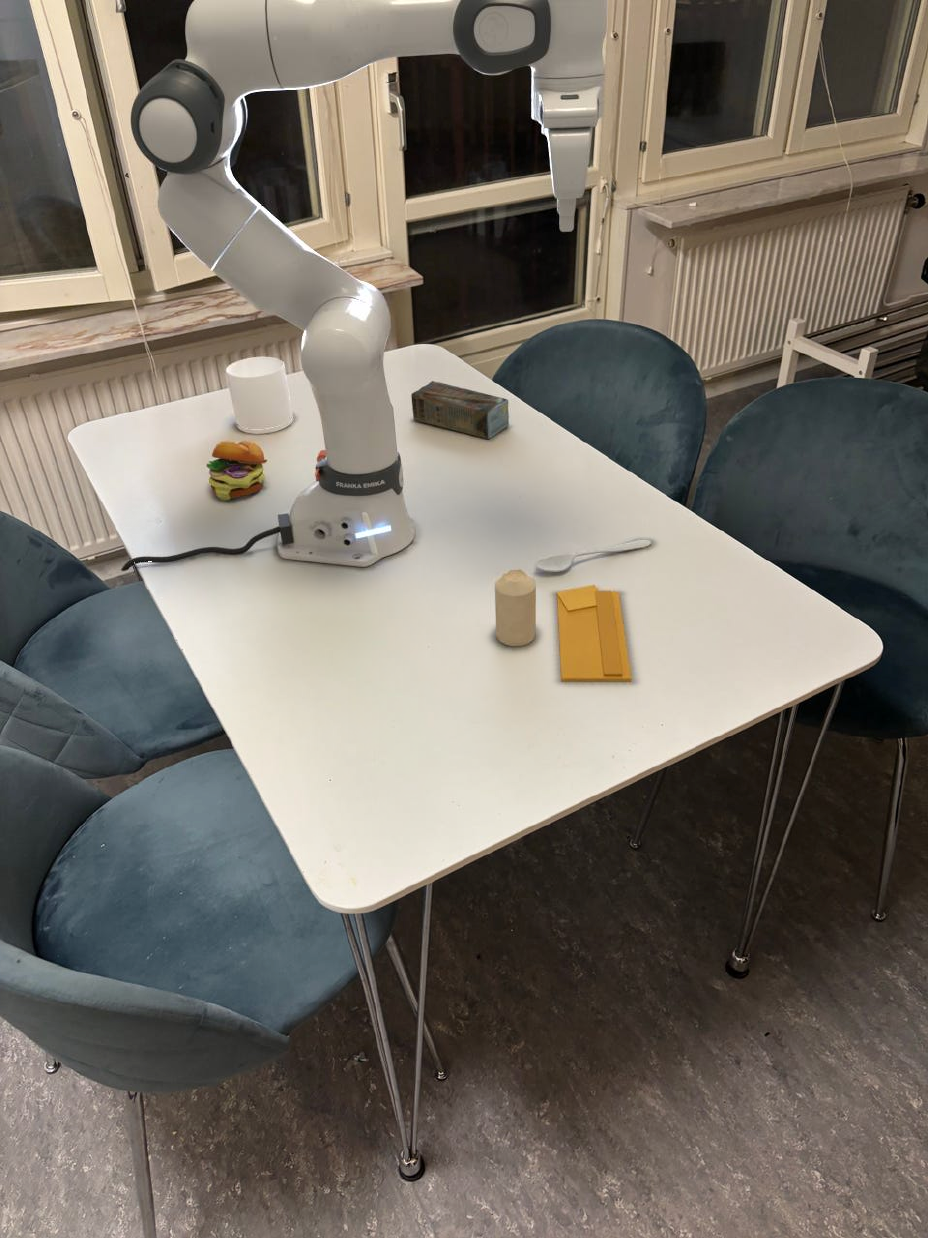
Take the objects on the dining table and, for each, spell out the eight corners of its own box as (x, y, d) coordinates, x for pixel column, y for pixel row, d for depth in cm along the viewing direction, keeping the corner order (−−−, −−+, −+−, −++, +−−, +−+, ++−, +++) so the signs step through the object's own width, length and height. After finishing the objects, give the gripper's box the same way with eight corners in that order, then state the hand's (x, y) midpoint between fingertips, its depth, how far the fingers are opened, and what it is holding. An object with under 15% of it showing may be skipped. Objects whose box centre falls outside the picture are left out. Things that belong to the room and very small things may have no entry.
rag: (560, 681, 118) (560, 675, 118) (555, 589, 135) (556, 584, 135) (631, 681, 117) (631, 676, 117) (617, 589, 135) (617, 584, 134)
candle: (532, 648, 124) (532, 587, 118) (492, 645, 125) (491, 584, 119) (538, 625, 128) (538, 565, 122) (499, 621, 129) (498, 562, 123)
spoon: (528, 567, 140) (528, 558, 139) (643, 536, 146) (643, 527, 145) (540, 580, 137) (540, 571, 136) (657, 548, 143) (658, 539, 142)
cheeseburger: (196, 498, 163) (192, 442, 159) (231, 485, 172) (228, 432, 169) (244, 505, 160) (240, 449, 156) (277, 492, 169) (275, 438, 165)
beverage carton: (488, 441, 178) (487, 409, 174) (410, 421, 187) (408, 391, 183) (510, 426, 183) (509, 395, 179) (433, 408, 192) (431, 378, 188)
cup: (239, 413, 194) (228, 358, 187) (294, 408, 195) (285, 354, 188) (234, 436, 185) (222, 379, 178) (291, 431, 186) (282, 374, 178)
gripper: (540, 92, 120) (539, 204, 128) (543, 114, 104) (542, 241, 112) (588, 90, 120) (584, 203, 128) (598, 111, 103) (593, 239, 111)
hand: (565, 221), depth 120 cm, fingers open, 8 cm apart
